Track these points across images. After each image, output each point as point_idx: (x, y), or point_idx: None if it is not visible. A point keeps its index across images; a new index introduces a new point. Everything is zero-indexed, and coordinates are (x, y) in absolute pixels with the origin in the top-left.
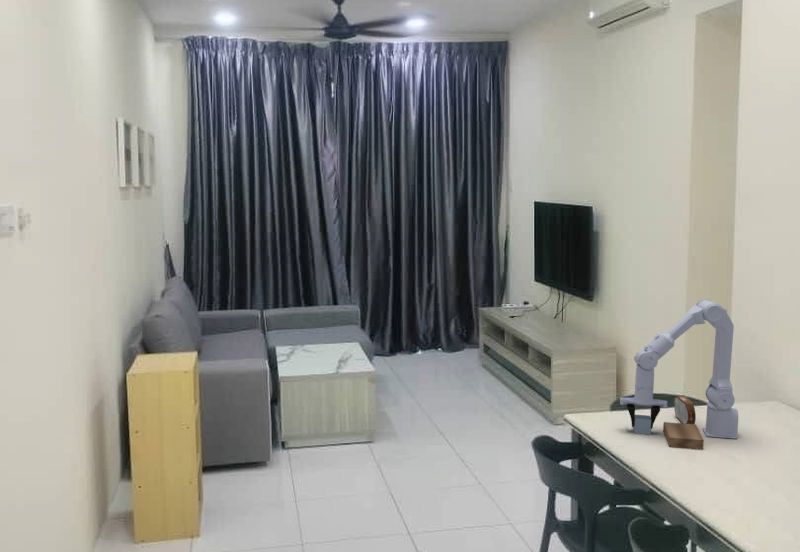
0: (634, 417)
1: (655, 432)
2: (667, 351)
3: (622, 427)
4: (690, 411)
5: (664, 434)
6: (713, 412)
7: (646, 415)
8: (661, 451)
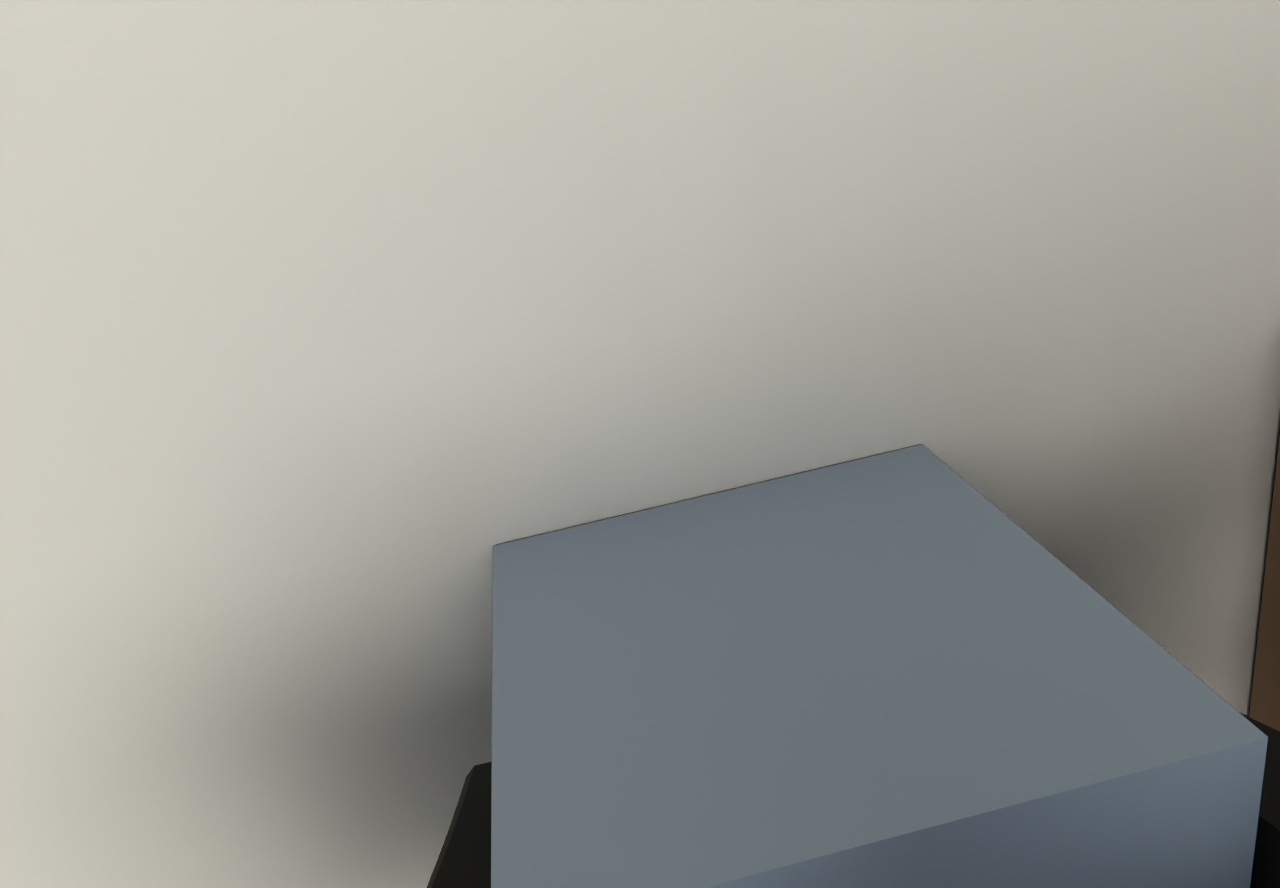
0: None
1: (1075, 532)
2: None
3: (151, 535)
4: None
5: (1265, 603)
6: None
7: (1111, 791)
8: None
